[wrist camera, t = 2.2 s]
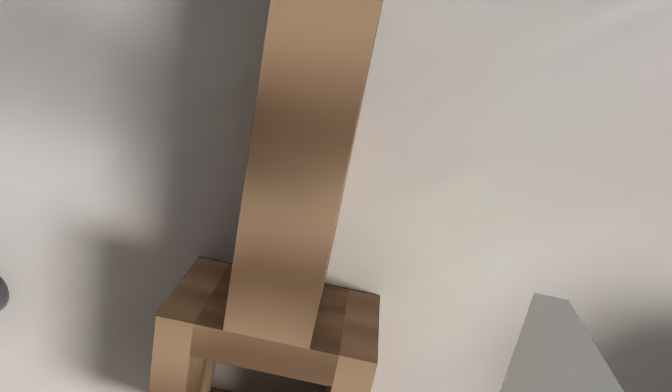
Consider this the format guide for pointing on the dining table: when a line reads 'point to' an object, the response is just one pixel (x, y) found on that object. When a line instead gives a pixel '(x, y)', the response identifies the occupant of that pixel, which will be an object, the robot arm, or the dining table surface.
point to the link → (285, 222)
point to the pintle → (3, 294)
